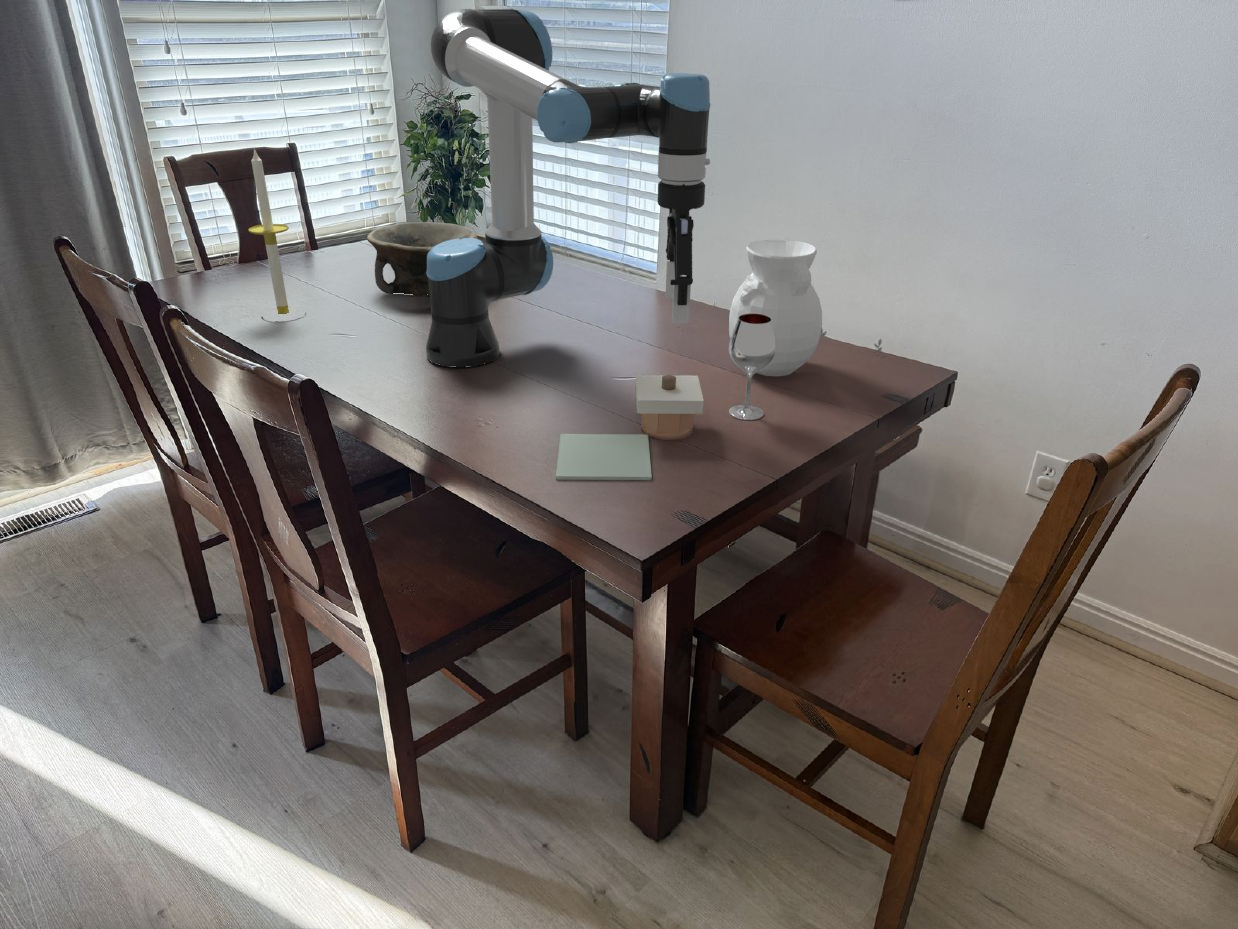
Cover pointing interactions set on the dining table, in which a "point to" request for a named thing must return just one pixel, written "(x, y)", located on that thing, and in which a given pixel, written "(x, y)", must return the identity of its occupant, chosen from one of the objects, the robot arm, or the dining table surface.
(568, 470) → the mat
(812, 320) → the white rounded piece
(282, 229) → the candle
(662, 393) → the lid
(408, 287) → the bowl
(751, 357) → the wineglass
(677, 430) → the pot
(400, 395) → the dining table surface
